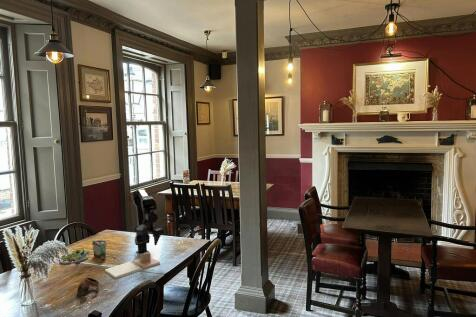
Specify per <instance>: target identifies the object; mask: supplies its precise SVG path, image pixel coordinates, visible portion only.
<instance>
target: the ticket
mask: <svg viewBox="0 0 476 317" xmlns="http://www.w3.org/2000/svg"><path fill="white" fill-rule="evenodd" d="M142 270H143V269H142V267H140V266H138V265H136V264H135V263H133V262H132V261H128V262H125V263H121V264H119V265H115V266H112V267H109V268H105V269H104V272H105V273H106V274H107V275H109V276H111V277H112V278H114V279H116V280H117V279H119V278H122V277H124V276H125V277H126V276H128V275H132V274H133V273H137V272H141V271H142Z"/></svg>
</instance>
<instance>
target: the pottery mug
mask: <svg viewBox="0 0 476 317" xmlns="http://www.w3.org/2000/svg"><path fill="white" fill-rule="evenodd" d="M99 284H100V282H99V281H98V280H97V279H94V278H92V277H85V278H84V280H82V281H80V283H79V285H78V287H77V292H76V295H77V296H79V297H82V296H86V295H87V294H88V291H89V290H90V287H95V288H96V292H98V290H99Z"/></svg>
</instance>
